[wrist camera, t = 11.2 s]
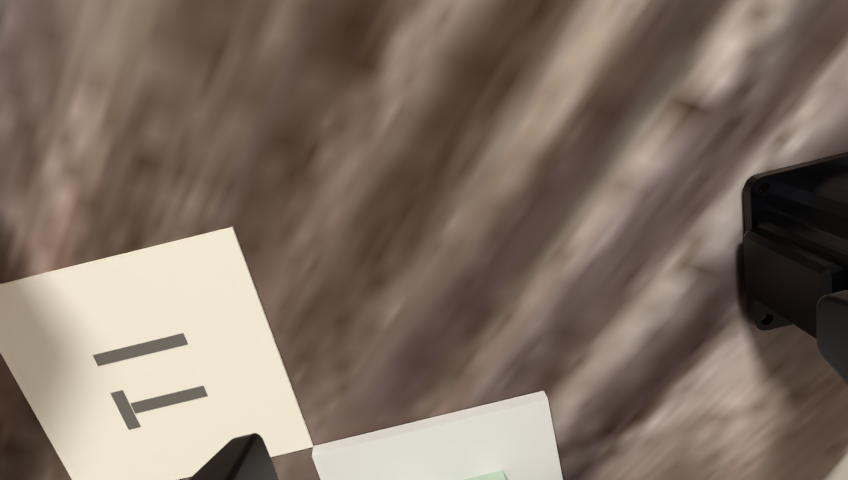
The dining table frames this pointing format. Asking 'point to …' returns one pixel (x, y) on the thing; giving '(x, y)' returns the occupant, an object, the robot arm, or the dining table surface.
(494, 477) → the sage block
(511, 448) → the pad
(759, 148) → the dining table surface
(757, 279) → the robot arm
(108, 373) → the tile
